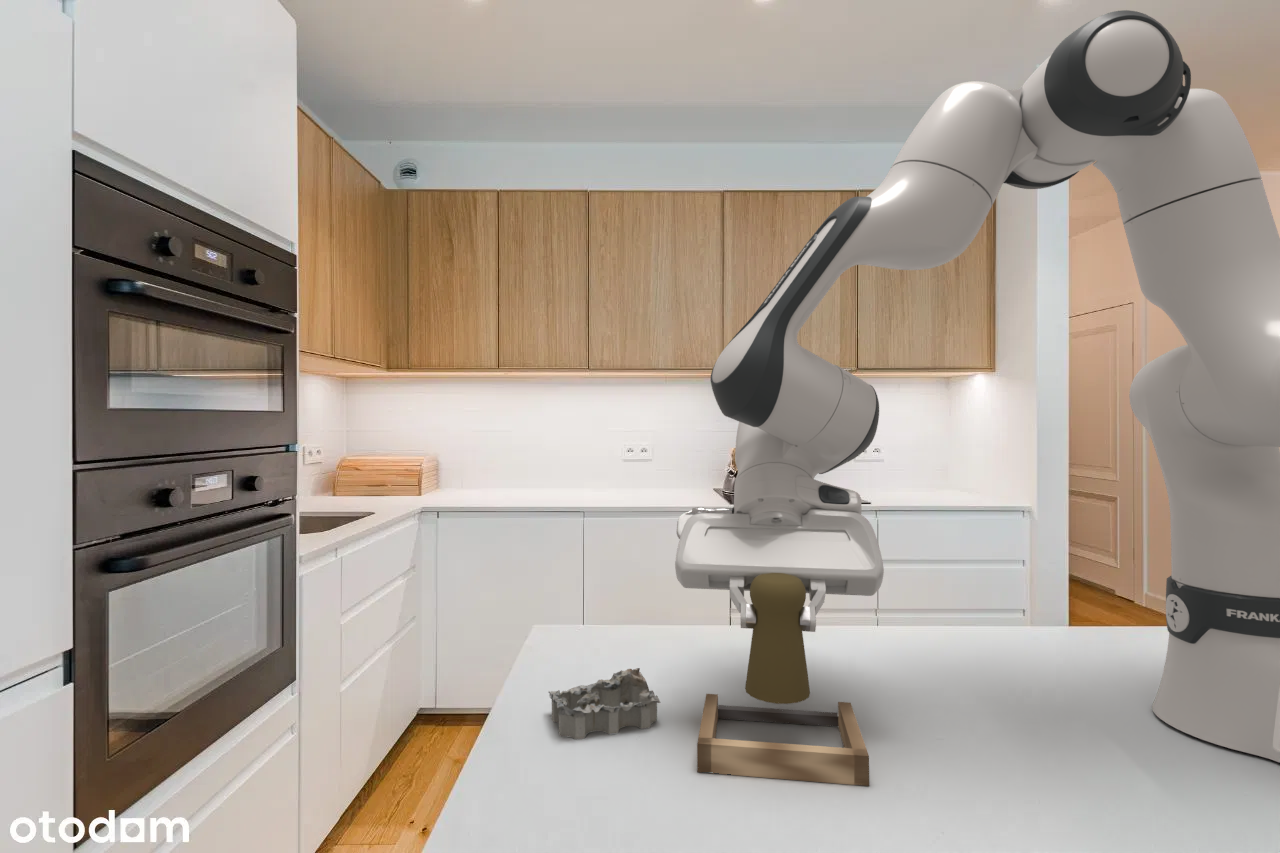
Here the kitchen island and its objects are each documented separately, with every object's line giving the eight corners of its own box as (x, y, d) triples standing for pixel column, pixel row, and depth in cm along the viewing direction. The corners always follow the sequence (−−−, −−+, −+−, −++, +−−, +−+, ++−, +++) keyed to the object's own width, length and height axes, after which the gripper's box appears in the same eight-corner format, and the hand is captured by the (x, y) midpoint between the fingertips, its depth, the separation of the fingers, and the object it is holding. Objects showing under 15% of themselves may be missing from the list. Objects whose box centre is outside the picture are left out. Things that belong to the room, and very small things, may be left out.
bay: (849, 723, 69) (849, 698, 69) (869, 786, 57) (869, 756, 57) (707, 713, 71) (707, 689, 71) (697, 772, 59) (697, 743, 59)
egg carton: (643, 702, 75) (643, 665, 75) (664, 732, 68) (664, 691, 68) (547, 713, 72) (547, 675, 72) (558, 745, 65) (558, 702, 65)
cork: (811, 706, 61) (811, 583, 61) (743, 700, 62) (743, 580, 62) (809, 681, 67) (809, 569, 67) (746, 676, 68) (747, 566, 68)
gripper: (676, 489, 73) (664, 604, 63) (875, 493, 69) (895, 615, 60) (680, 525, 77) (670, 637, 68) (868, 530, 74) (885, 649, 64)
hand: (777, 627), depth 64 cm, fingers closed on cork, 4 cm apart
